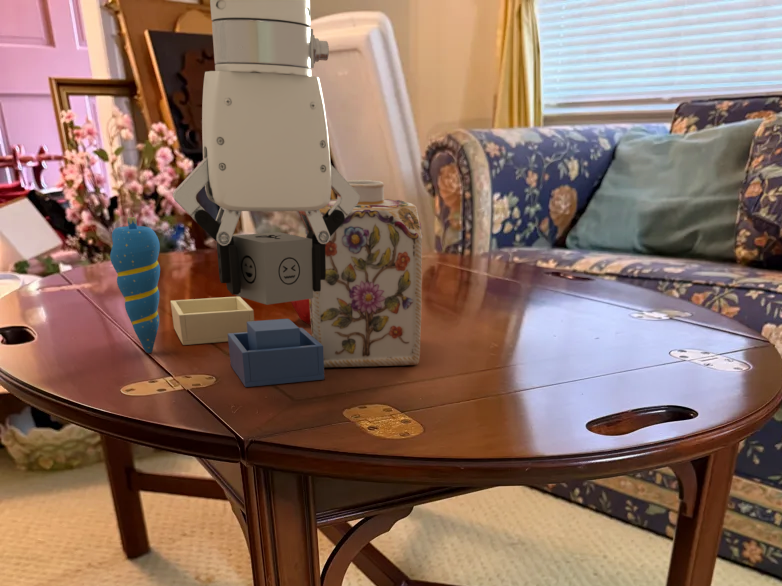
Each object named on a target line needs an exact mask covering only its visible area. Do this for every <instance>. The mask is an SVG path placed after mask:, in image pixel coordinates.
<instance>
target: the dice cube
mask: <svg viewBox="0 0 782 586" xmlns="http://www.w3.org/2000/svg"><path fill="white" fill-rule="evenodd" d="M232 237H233V238H234V245H235V246H237V247H238V255H239V270H240V286H241V293H239V294H237V295H236V297H238V296H240V297H241V298H242V299H247V300H250V301H254V302H255V303H260V304H263V305H267V306H269V305H275V304H284V303H290V302H291V301H297V300H304V299H312V298H313V278H312V239H310V238H306V237H304V236H299V235H294V234H290V233H286V232H285V233H284V232H280V231H276V232H274V231H273V232H262V233H245V234H233V236H232Z"/></svg>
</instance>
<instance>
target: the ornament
mask: <svg viewBox="0 0 782 586" xmlns="http://www.w3.org/2000/svg"><path fill="white" fill-rule="evenodd" d="M130 212H131V213H132V215H133V216H130ZM127 215H128V217H126V221H127V226H126V225H125V226H118V227H115V228H114V229H113V230H112V233H111V241H112V245H111V250H110V254H109V258H110V259H109V260H110V262H111V265H112V267H113V269H114V270H115V272H116V274H117V277H116V285H117V287H118V289H119V291H120V293H121V294H122V297H123V298H124V308H125V312H126V315H127V316H128V318H129V321H130V323H131V325H132V328H133V331H134V334H135V335H136V336H137V338H138V340H139V343H140V344H141V346H142V348H143V350H144V352H145V353H147V354H151V353H153V351H154V347H155V342H156V339H157V334H158V330H159V326H160V314H159V312H158V307H159V304H160V290H159V287H158V284H159V280H160V276H161V266H160V263H159V261H158V259H159V255H160V249H161V248H160V247H161V246H160V240H159V238H158V235H157V233H156V232H155V231H154V230H153V229H152V228H151V227H148V226H142V225H138V221H137V217H135V213H134V212H133V210H129V211H128V212H127Z"/></svg>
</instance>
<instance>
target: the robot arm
mask: <svg viewBox="0 0 782 586" xmlns="http://www.w3.org/2000/svg"><path fill="white" fill-rule="evenodd" d="M209 4H210V5H209V7H210V20H211V29H212V30H211V31H212V43H213V45H212V46H213V58H214V70H209V71H204V77H203V87H202V101H201V102H202V103H201V104H202V106H201V107H202V108H201V118H202V119H201V130H202V131H201V133H202V134H201V136H202V137H201V138H202V160H201V161H200V163H198V164H197V166H196V167H195V168H194V169H193V170H192V171H191V172H190V173H189V174H188V176H186V178H184V180H183V181H182V182H181V183H180V184H179V185H178V186H177V187H176V189H175V190H174V191H173V192H172V199H174V201H175V203H177V204H178V205H179V206H180V208H182V209H183V210H184V211H185V212H186V214H188V216H189V217H191V219H192V220H193V221H194V222H195V223H196V224H197V225H198V226H199V227H201V228H202V229H203V231H205V232H206V233H207V235H209V236H210V237H211V238H212V239H213V240H214V241H215V242H216V253H217V265H218V277H219V282H220V284H226V289H227V291H228V292H229V293H230V294H231V295H232V296H237V294H239V293H241V286H240V270H239V255H238V247H237V246H235V245H234V238H233V237H232V236H233V235H235V231H236V228H237V225H238V222H239V220H240V216H241V215H242V212H298V213H299V215H300V218H301V221H302V223H303V225H304V227H305V230H306V229H307V232H308V234H307V238H310V239H312V278H313V291H314V292H316V291H321V280H325V277H326V258H325V244H327V243H328V242H329V240H330V237H331V236H332V234H333V233H334V232H335V231H336V230H337V229H338V228H339V227H340V225H341V224H342V223H343V222H344V219H345V218H346V216H347V215H349V213H350V212H351V211H352V210H353V208H354V207H355V206H356V205H357V204H358V202H359V200H360V195H359V194H358V193H357V192H356V190H355V189H354V188H353V187H352V186H351V185H350V184H349V183H348V182H347V181H348V180H346V178H345V177H343V175H342V174H341V173H340V172H339V170H337V169H336V168H335V167H334V166H333V165H332V163H331V151H330V140H329V130H328V123H327V122H328V121H327V114H326V107H325V99H324V95H323V90H322V85H321V81H320V77H319V76H313V75H312V69H314V67H315V64H316V62H319V61H328V59H329V54H330V46H329V42H328V41H327V40H319V38H317V37H315V34H314V29H313V28H311V25H312V23H311V0H209ZM203 188H204V190H205V195H206V196H207V199H208V200H209V201H210V202H211V203H214V204H216V205H217V206H219V210H218V213H217V215H216V218H214V217H213V216H212V215H211V214H210V213H209V212H208V211H207V210H206V209H205V208H204V207H203V206H202V205H201V204H200V202H198V200H197V195H198V194H199V193H200V192H201V190H202V189H203ZM332 191H333V192H334V193H335V194H336V199H337V201H336V202H335V204H334V206H333V207H332V208H331V209H329V210H328V211H327V212H326V213H325V215H324V216H323V217H322V215H321V213H320V210H319V209H321V208H324V207H325V206H327V205H328V203H329V202H330V199H332V197H331V196H332Z"/></svg>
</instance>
